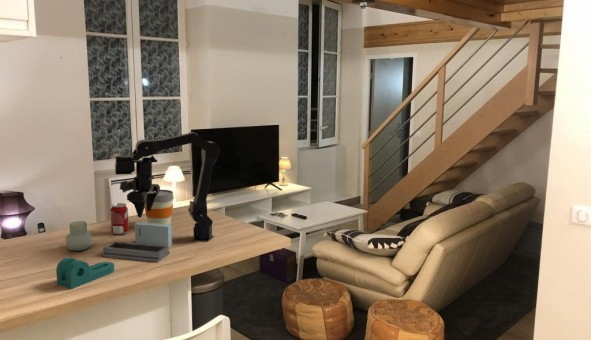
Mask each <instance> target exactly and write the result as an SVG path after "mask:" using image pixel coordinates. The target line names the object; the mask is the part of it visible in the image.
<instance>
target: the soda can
mask: <svg viewBox="0 0 591 340" xmlns="http://www.w3.org/2000/svg"><path fill="white" fill-rule="evenodd" d="M109 212H110V225H111V226H110V229H111V233H112V234H113V235H116V236H117V235H118V236H119V235H124V234H127V233H129V230H130V228H129V227H130V226H129V225H130V224H129V208H128V206H127V204H126V203H123V202H121V203H118V202H117V203H113V204H112V205H111V208H110V211H109Z"/></svg>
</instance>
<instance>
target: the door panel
mask: <svg viewBox="0 0 591 340" xmlns="http://www.w3.org/2000/svg"><path fill="white" fill-rule="evenodd" d="M134 241H135V242H134V243H136V244H146V245H157V246H168V247H169V248H170V246H172V245H173V225H172V224H170V225H168V224H157V223H148V222H144V221H138V222H136V223H134Z"/></svg>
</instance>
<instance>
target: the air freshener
mask: <svg viewBox="0 0 591 340" xmlns="http://www.w3.org/2000/svg"><path fill="white" fill-rule="evenodd" d="M87 225H88V224H87V222H86V221H85V220H77V221H72V222H70V223H69V225H68V226H69V234H67V235H66V236H65V240H66V247H67V250H69V251H73V252H74V251H75V252H76V251H77V252H80V251H84V250H87V249H90V247H92V246H93V237H92V234H91V233H90V232H88V226H87Z"/></svg>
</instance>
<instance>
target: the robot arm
mask: <svg viewBox="0 0 591 340" xmlns="http://www.w3.org/2000/svg"><path fill="white" fill-rule="evenodd" d="M190 144H194V145H195V146H196V147H198V148H199V149H201V152H200V153H201V154H200V155H201V156H200V157H201V167H200V173H199V179H198V184H197V189H196V194H195V197H194V200H190V201H189V207H188V209H187V211H188V212H189V216H190V217H191V219H192V220H193V221H194V222H195V223H194V226H193V238H192V241H201V242H209V241H211V239H212V238H214V234H213V222H214V221H213V219H211V217H209V215H208V202H207V199H208V194H209V189H210V184H211V178H212V173H213V168H214V165H215V163H216V162H217V160H218V157H219V154H220V152H221V148H220V146H219V145H218V144H217V143H216V142H214V141H210V140H206V139H204V138H202V137H201V136H199V134H197V133H196V132H195V131H190V132H186V133H184V134H178V135H174V136H170V137H169V136H168V137H163V138H160V139H141V140H138V141H137V142H136V144H135V145H134V146H135V149H133V151H132V152H131V153H130V155H126V156H121V155H116V156H115V163H114V174H115V175H132V173H134V172H136V173H135V174H136V175H135V176H134V177H133V179H132V180H130V181H127V180H124V181H121V182H120V185H119V190H121V191H122V193H123V194H124V193H127V192H128V191H129V192H128V193H127V194H126V201H128V202H129V203H132V204H133V205H134V206H133V207H134V209H135V212H136V214H137V217H138V218H142V216H143V214H144V212H145V205H146V207H147V211H150V210H151V208H152V206H153V204H154V202H155V199H156V197H157V195H158V194H159V191H160V190H161V186H160V185H159V184H158V183H153V179H155V176H154V175H153V163H158V159H156V158H155V156H154V155H155V154H157V153H159V152H161V151H164V150H167V149H168V150H169V149H173V148H176V147H181V146H185V145H190ZM135 163H136V164H135ZM135 165H136V166H135ZM135 167H136V168H135ZM155 191H156V192H155Z"/></svg>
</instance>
